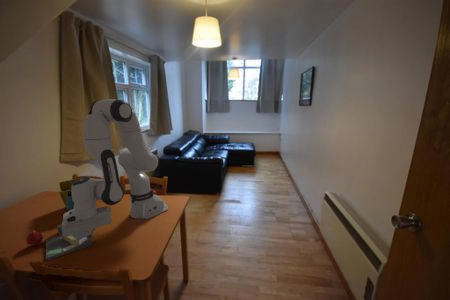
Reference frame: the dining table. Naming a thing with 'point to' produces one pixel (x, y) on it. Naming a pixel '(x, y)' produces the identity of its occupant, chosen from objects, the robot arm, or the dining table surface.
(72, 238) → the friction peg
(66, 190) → the flower pot
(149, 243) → the dining table surface
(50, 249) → the dial board
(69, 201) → the beverage bottle
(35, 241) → the onion
